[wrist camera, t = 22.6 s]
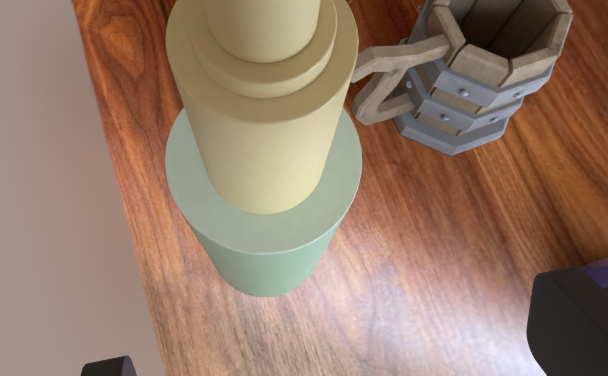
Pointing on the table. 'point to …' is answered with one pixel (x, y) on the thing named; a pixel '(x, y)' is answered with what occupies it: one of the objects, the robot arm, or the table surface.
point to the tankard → (461, 69)
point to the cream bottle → (263, 92)
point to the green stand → (263, 228)
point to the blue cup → (598, 271)
